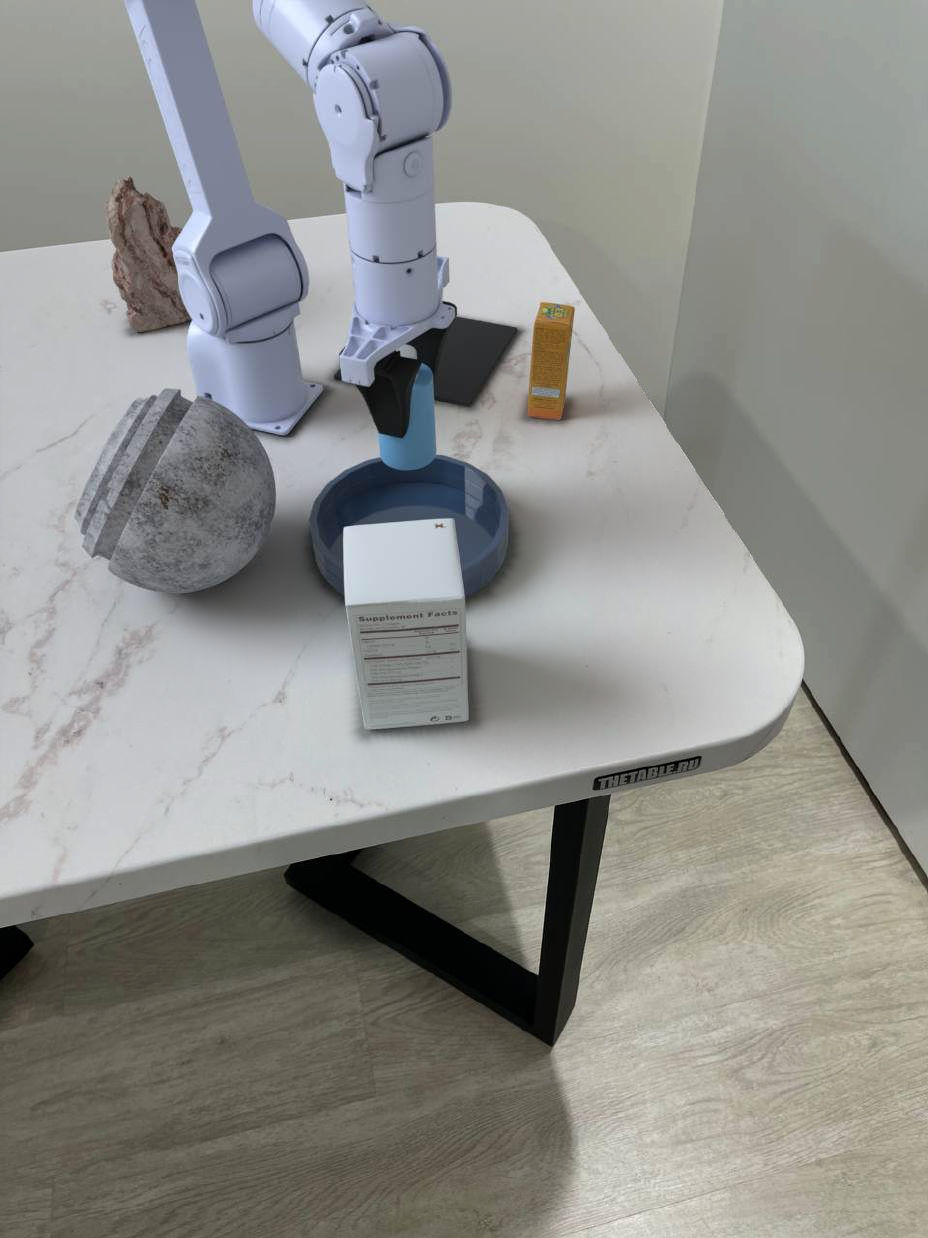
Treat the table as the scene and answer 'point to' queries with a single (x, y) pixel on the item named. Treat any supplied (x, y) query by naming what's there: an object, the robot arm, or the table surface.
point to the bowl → (414, 512)
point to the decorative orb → (178, 495)
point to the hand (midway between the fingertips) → (405, 414)
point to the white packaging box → (407, 622)
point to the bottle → (414, 424)
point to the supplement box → (550, 360)
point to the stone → (144, 258)
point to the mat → (467, 359)
